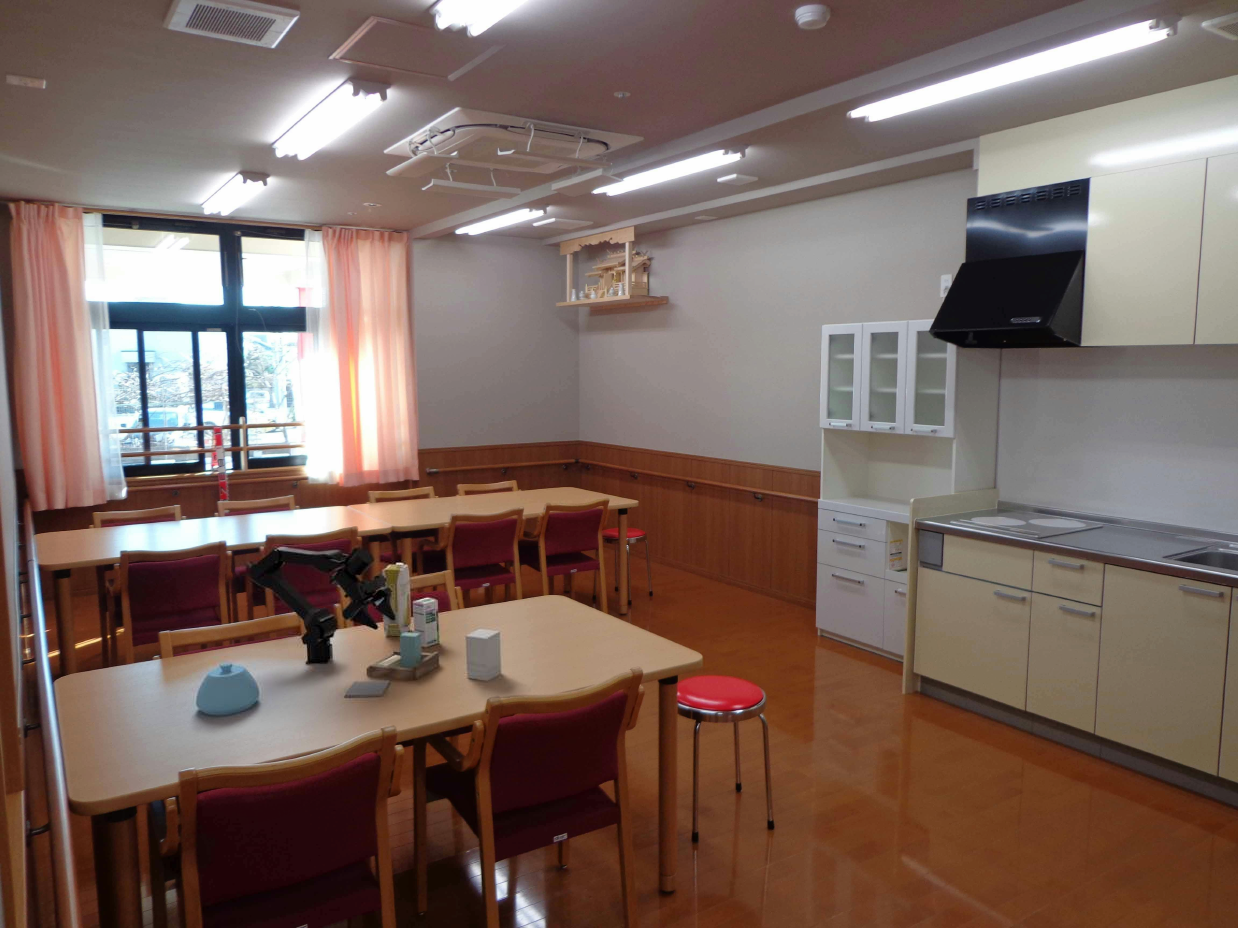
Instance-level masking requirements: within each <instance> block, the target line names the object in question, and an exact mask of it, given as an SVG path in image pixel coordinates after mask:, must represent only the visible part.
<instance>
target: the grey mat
mask: <svg viewBox="0 0 1238 928" xmlns="http://www.w3.org/2000/svg"><path fill="white" fill-rule="evenodd" d="M390 684H391V680H367V681H366V680H365V681H363V680H362V681H359V680H358V681H353V683H352V684H351V685H350V687H349V688H348V689H347V691H346V692H345V693H344V695H343V698H367V697H368V698H369V697H374V698H375V697H378V698H379V697H380V698H381V697H383V695H384V694H385V692H386V691H387V689H388V687H389V686H388V685H390ZM386 688H387V689H386Z"/></svg>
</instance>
